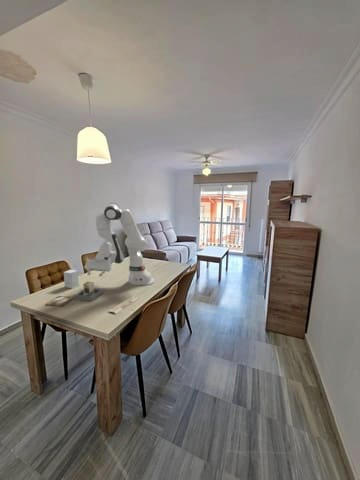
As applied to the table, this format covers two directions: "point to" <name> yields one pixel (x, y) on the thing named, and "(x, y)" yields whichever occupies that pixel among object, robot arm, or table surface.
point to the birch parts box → (88, 288)
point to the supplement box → (71, 278)
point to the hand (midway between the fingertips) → (94, 275)
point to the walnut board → (60, 301)
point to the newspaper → (124, 304)
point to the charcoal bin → (88, 298)
